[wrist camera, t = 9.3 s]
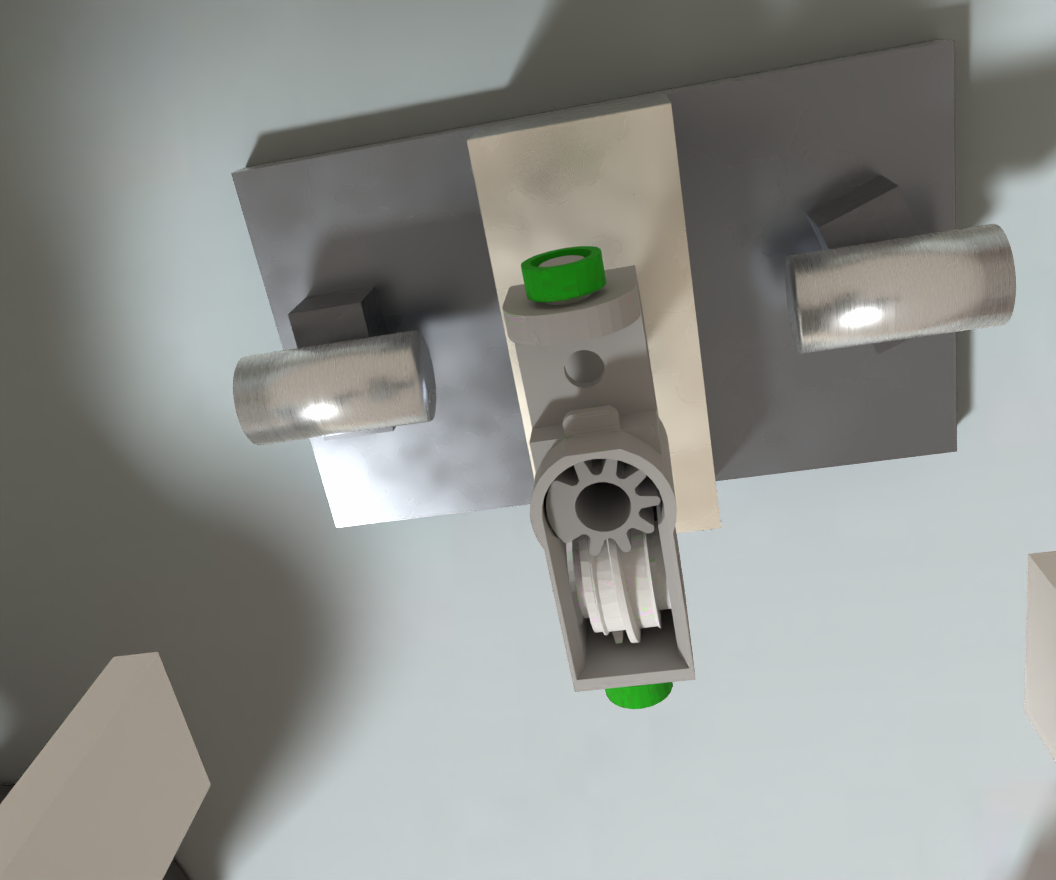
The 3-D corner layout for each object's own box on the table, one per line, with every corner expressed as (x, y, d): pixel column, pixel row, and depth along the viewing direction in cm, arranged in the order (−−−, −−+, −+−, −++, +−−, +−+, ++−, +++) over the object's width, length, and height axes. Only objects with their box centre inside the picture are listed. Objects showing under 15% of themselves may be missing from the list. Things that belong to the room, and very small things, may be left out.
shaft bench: (344, 512, 37) (297, 600, 31) (244, 167, 32) (167, 200, 26) (947, 436, 34) (1011, 519, 28) (942, 39, 28) (1020, 46, 23)
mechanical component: (630, 170, 26) (638, 257, 17) (679, 499, 30) (706, 708, 21) (525, 190, 27) (478, 283, 18) (586, 511, 31) (574, 722, 22)
